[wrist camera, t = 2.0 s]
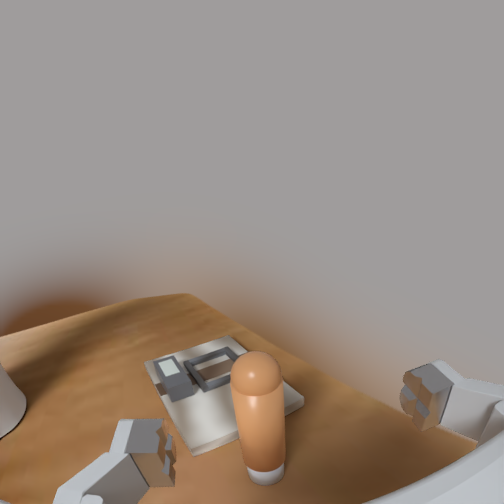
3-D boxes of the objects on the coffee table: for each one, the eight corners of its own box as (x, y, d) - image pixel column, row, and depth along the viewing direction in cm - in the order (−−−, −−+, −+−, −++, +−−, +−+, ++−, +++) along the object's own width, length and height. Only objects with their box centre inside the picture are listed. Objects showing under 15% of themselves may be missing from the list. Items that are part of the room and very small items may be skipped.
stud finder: (171, 402, 35) (167, 387, 34) (156, 374, 41) (152, 360, 40) (194, 394, 37) (190, 379, 36) (176, 368, 42) (173, 354, 42)
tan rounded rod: (260, 493, 23) (243, 379, 19) (239, 468, 26) (216, 352, 22) (294, 474, 25) (293, 357, 21) (271, 452, 28) (262, 335, 24)
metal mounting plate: (193, 456, 28) (188, 444, 27) (146, 369, 45) (142, 358, 44) (304, 405, 35) (304, 392, 34) (229, 342, 52) (228, 331, 51)
